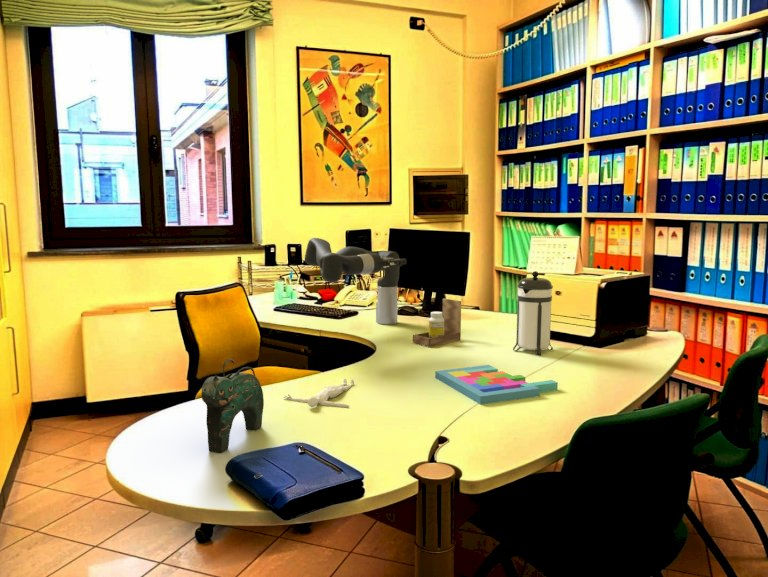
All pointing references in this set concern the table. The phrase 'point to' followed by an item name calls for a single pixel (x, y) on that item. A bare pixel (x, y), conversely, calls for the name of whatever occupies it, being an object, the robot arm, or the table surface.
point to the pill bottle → (436, 324)
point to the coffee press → (534, 314)
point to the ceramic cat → (231, 405)
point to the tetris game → (492, 384)
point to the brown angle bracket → (450, 326)
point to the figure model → (325, 395)
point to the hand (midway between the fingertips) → (398, 260)
